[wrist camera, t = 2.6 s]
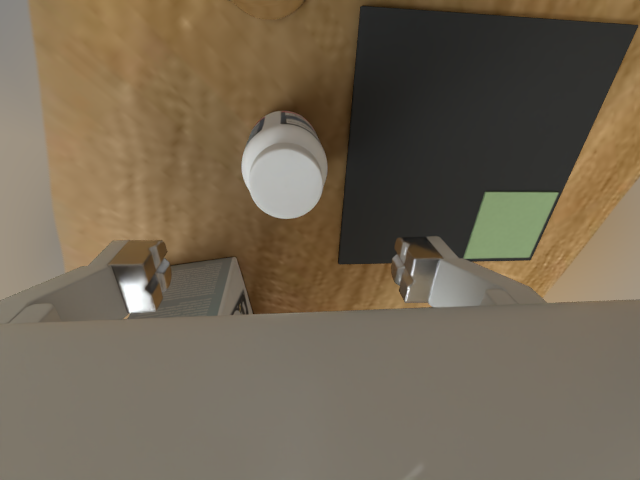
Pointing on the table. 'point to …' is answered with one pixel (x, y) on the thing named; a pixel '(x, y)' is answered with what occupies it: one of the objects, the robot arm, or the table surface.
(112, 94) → the table surface
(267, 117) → the pill bottle
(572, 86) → the mat
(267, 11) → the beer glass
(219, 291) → the hard drive box
